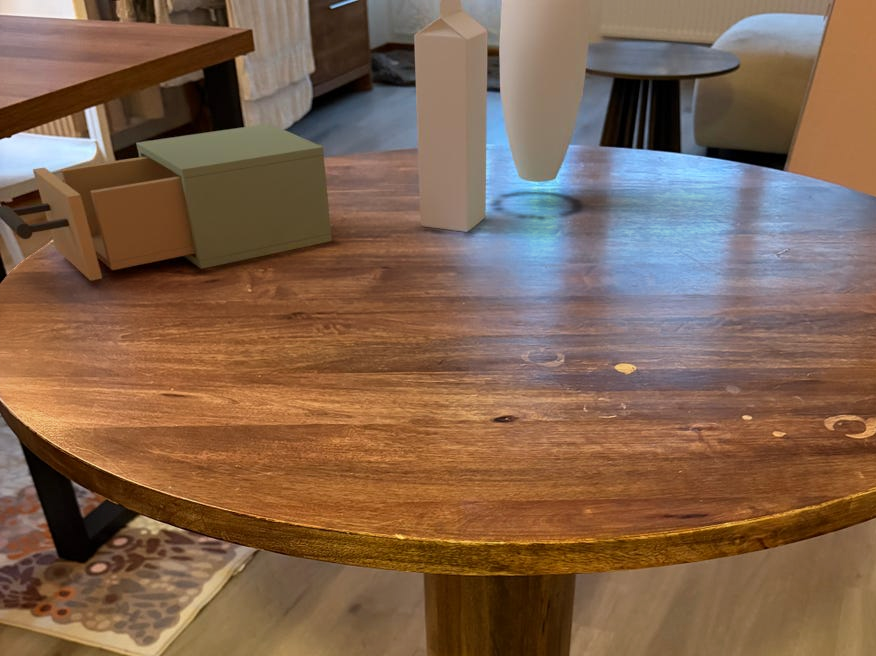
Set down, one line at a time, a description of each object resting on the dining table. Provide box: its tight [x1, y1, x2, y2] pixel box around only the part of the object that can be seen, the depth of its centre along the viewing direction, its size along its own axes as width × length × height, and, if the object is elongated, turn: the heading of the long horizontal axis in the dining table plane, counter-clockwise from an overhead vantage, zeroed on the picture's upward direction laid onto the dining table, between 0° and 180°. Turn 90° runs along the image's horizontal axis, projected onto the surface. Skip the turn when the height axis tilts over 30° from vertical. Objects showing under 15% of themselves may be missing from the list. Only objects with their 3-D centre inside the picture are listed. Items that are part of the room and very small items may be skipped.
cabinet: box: [135, 123, 333, 270], centre depth 100 cm, size 16×13×10 cm
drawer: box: [0, 156, 195, 281], centre depth 93 cm, size 19×11×8 cm, turn 126°
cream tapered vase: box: [498, 0, 591, 183], centre depth 107 cm, size 10×10×22 cm
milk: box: [413, 0, 488, 233], centre depth 101 cm, size 6×6×22 cm
